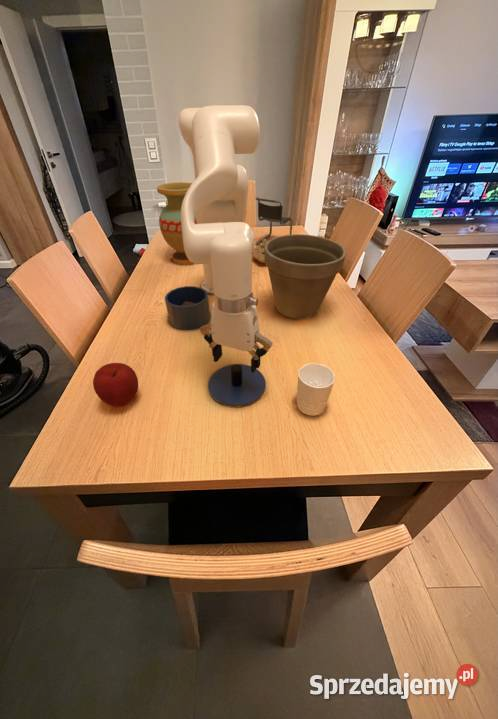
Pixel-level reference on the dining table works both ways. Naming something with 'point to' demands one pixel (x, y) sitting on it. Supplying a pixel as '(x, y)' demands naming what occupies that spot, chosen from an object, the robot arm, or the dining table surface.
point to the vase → (174, 219)
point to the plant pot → (302, 272)
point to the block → (187, 303)
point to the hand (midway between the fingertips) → (236, 363)
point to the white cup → (314, 388)
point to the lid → (236, 385)
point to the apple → (116, 384)
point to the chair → (272, 214)
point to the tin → (188, 307)
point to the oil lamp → (260, 252)
